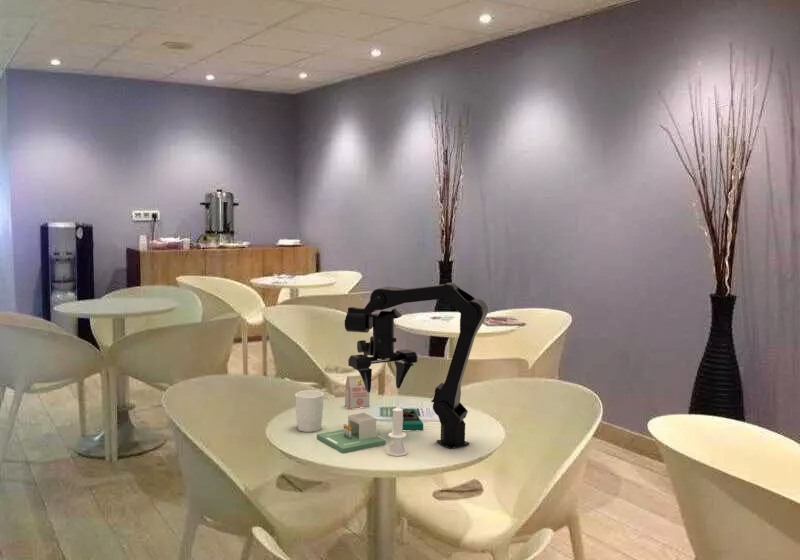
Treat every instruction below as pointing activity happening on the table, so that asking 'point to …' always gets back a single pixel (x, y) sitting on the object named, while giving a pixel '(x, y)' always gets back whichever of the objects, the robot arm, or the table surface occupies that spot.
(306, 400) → the white cup
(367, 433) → the block
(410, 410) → the digital multimeter
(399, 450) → the candle
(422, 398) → the table surface
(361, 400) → the tea bag
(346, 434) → the pins
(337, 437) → the header board
